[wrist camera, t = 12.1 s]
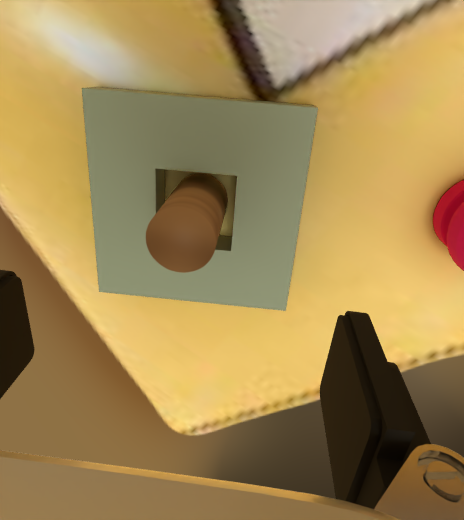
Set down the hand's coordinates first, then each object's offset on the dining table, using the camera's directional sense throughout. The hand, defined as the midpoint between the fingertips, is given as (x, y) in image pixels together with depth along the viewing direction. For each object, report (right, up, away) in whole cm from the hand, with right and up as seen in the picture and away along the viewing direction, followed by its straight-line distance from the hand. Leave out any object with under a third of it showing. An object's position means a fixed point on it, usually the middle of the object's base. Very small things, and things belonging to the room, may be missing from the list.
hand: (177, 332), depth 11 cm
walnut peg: (-1, +7, +21) cm, 22 cm away
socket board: (-1, +7, +21) cm, 22 cm away
